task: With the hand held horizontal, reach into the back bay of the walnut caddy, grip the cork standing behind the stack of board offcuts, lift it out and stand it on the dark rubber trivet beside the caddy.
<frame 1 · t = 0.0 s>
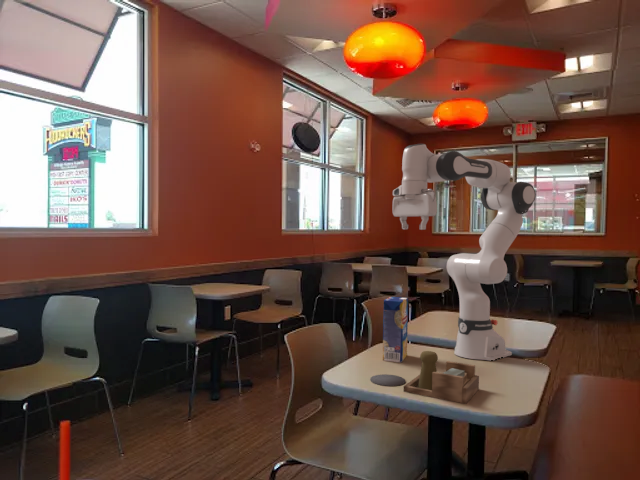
hand: (413, 229, 171), 48 cm above the table, tool pointing down, fingers open, 8 cm apart
rack: (451, 392, 144), on the table
beverage box: (395, 358, 181), on the table
cork: (428, 388, 147), resting in rack
coaster: (387, 380, 154), on the table
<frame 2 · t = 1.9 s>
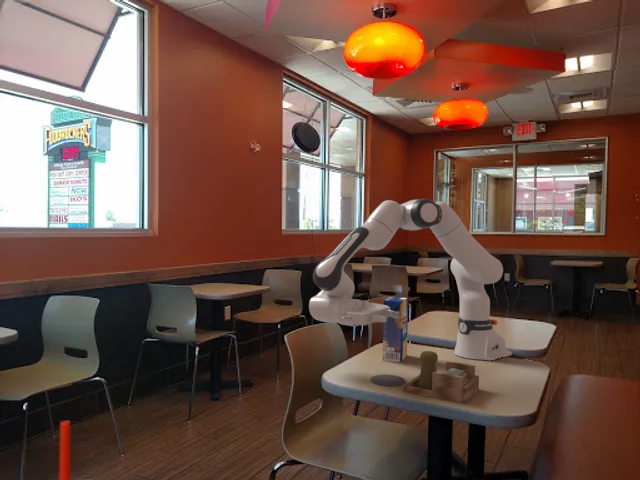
hand: (392, 317, 153), 20 cm above the table, tool horizontal, fingers open, 8 cm apart
nothing on the table moved.
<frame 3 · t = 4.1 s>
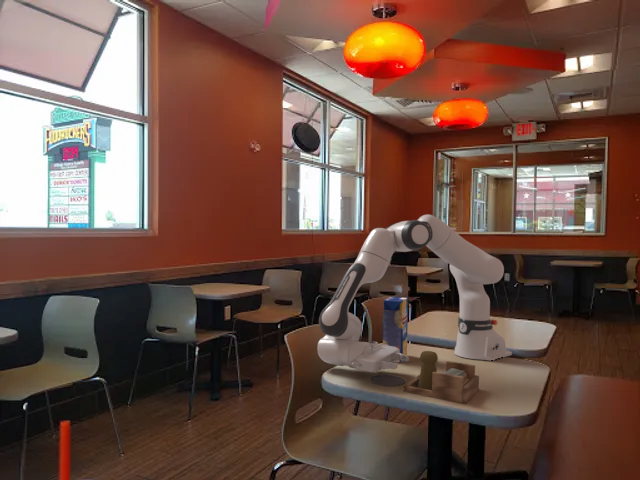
hand: (402, 362, 152), 6 cm above the table, tool horizontal, fingers open, 8 cm apart
nothing on the table moved.
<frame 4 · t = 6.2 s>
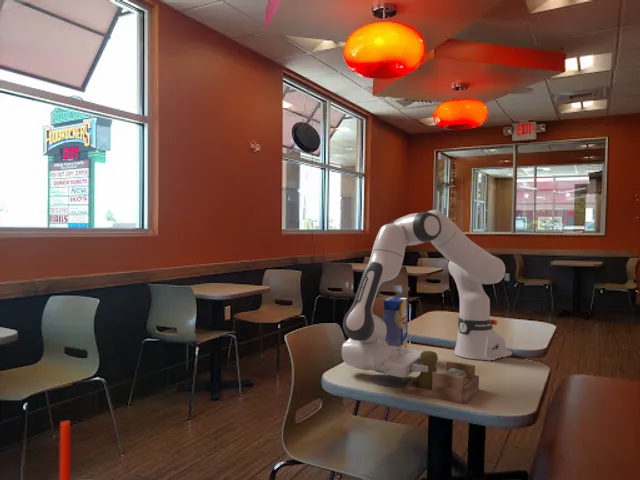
hand: (431, 366, 147), 7 cm above the table, tool horizontal, fingers closed on cork, 4 cm apart
cork: (428, 388, 147), resting in rack, touching gripper
everything else where it was.
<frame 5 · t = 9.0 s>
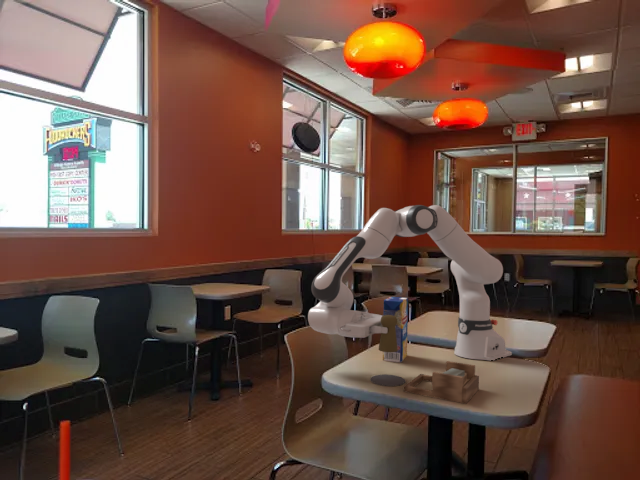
hand: (391, 328, 153), 17 cm above the table, tool horizontal, fingers closed on cork, 4 cm apart
cork: (388, 350, 154), point 10 cm above the table, touching gripper
everything else where it was.
when the fingers open (7 cm above the table, at t = 11.4 s): cork stays where it is, resting on coaster.
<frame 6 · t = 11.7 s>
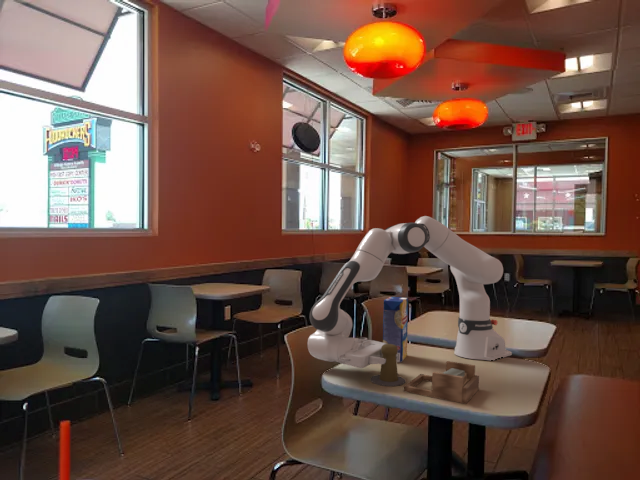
hand: (390, 357, 153), 7 cm above the table, tool horizontal, fingers open, 8 cm apart
cork: (388, 379, 154), resting on coaster
everything else where it was.
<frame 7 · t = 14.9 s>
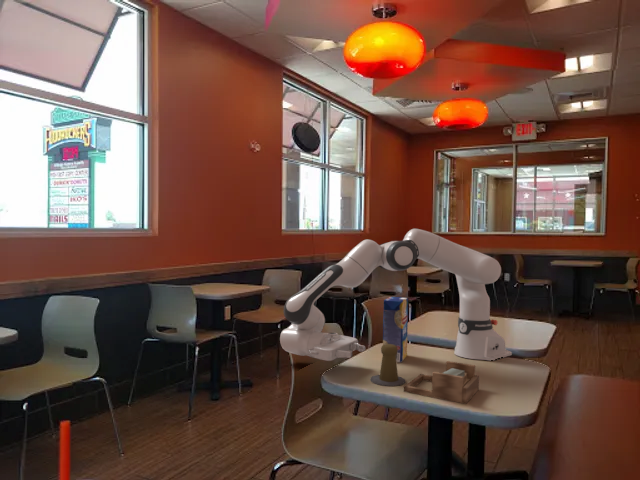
hand: (358, 351, 159), 8 cm above the table, tool horizontal, fingers open, 8 cm apart
nothing on the table moved.
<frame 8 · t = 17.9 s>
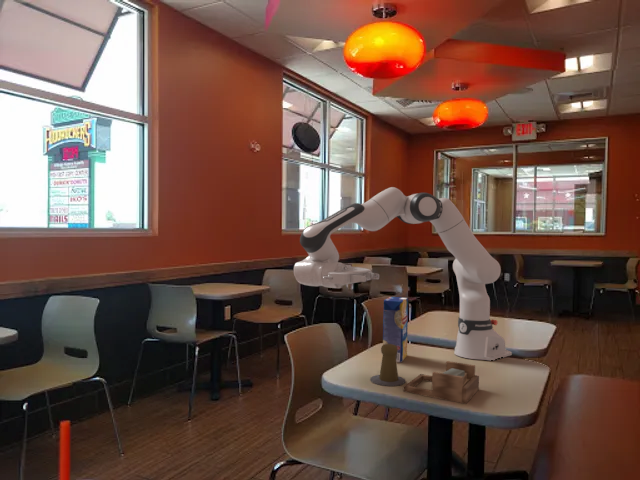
hand: (372, 277, 158), 32 cm above the table, tool horizontal, fingers open, 8 cm apart
nothing on the table moved.
at the end: cork 0.8 cm from the coaster (horizontally); cork tilted 0°; the gripper is holding nothing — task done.
